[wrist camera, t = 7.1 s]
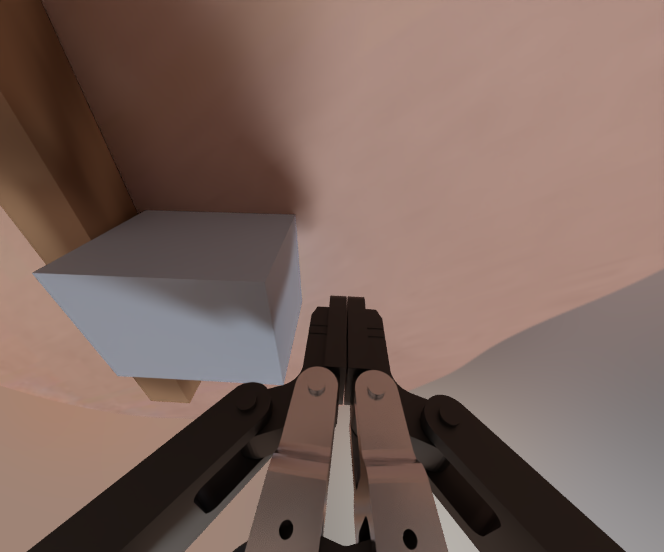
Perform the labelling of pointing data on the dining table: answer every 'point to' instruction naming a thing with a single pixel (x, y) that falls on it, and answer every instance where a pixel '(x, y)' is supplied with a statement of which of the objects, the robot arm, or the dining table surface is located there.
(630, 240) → the dining table surface
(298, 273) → the block
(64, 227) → the board
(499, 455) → the robot arm
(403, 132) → the dining table surface
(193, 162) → the dining table surface
